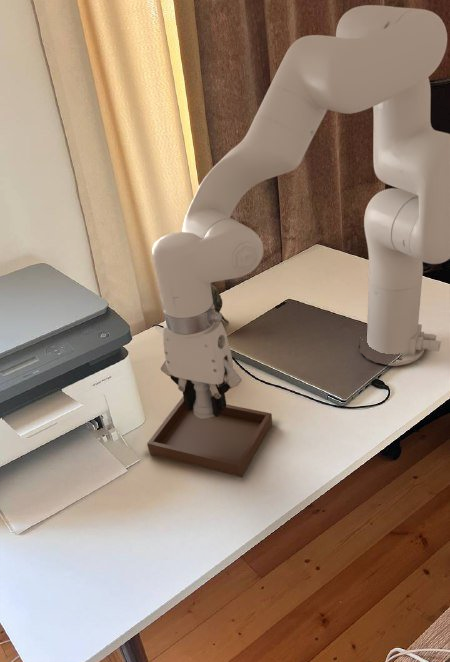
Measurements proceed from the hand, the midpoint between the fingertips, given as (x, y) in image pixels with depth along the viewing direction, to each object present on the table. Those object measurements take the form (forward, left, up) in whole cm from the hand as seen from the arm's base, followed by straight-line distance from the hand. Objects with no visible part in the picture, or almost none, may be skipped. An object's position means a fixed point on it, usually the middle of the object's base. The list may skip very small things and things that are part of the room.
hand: (206, 407), depth 106 cm
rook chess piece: (0, 0, -1) cm, 1 cm away
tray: (0, 0, -7) cm, 7 cm away
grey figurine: (+17, -32, -7) cm, 37 cm away
